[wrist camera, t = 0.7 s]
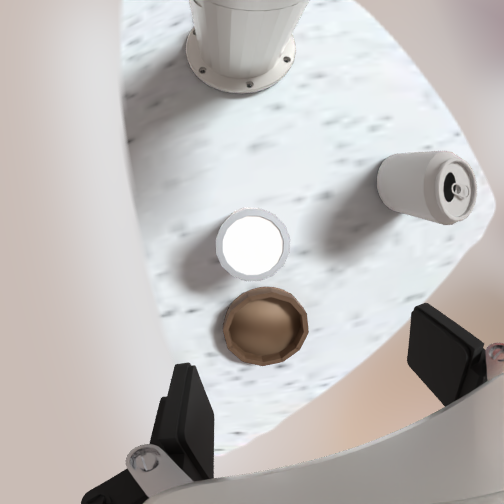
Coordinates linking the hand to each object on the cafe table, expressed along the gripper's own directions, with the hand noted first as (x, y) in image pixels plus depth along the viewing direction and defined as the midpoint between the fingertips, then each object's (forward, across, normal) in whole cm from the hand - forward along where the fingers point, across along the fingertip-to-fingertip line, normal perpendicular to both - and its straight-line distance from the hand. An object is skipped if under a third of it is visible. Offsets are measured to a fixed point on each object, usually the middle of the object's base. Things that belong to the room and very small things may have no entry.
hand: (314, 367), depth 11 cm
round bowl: (+23, +1, +10) cm, 26 cm away
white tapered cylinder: (+23, +1, -2) cm, 23 cm away
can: (+23, -19, -4) cm, 31 cm away
